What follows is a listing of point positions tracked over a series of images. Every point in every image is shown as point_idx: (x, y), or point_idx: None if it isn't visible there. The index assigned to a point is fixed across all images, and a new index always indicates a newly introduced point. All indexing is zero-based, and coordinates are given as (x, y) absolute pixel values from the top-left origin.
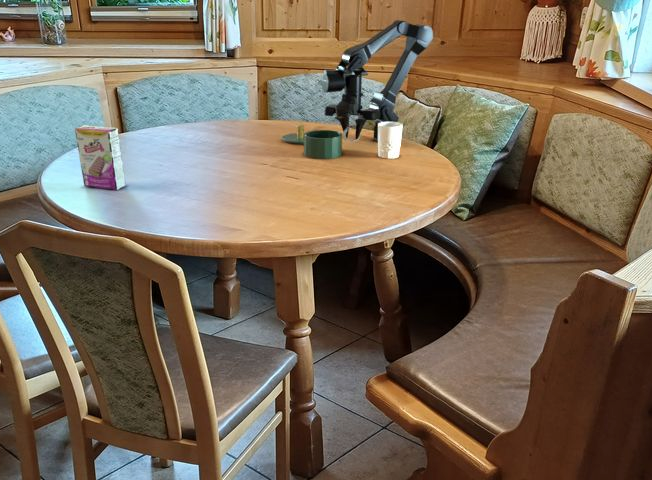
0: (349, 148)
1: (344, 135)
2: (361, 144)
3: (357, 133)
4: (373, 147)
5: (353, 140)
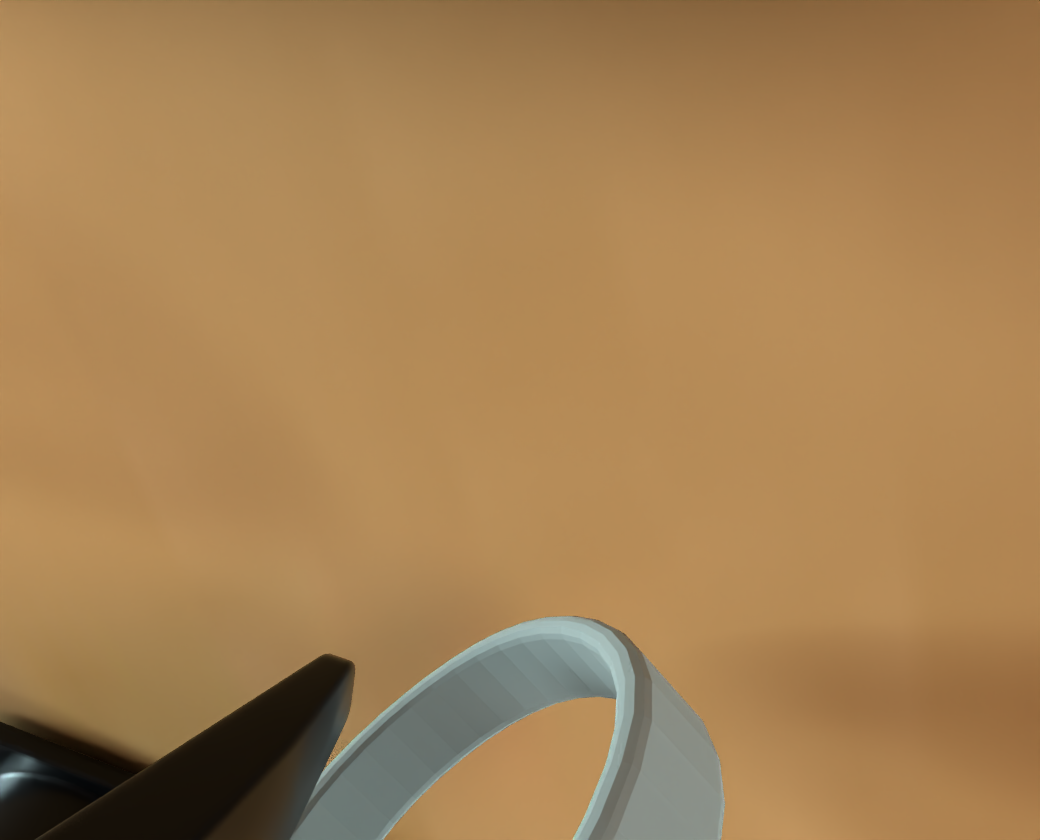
0: (441, 202)
1: (651, 712)
2: (313, 614)
3: (180, 758)
4: (16, 424)
5: (457, 700)
